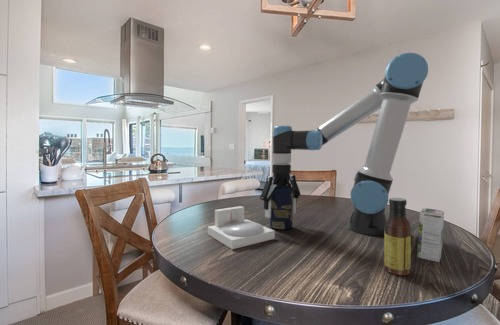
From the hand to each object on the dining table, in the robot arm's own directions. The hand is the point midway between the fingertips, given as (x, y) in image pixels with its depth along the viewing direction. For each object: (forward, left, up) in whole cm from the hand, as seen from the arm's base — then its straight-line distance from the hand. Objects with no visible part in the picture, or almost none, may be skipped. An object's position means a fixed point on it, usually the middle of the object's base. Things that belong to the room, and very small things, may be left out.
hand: (280, 215), depth 110 cm
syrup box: (-48, -18, -5) cm, 52 cm away
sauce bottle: (-47, 0, -5) cm, 47 cm away
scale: (0, +20, -5) cm, 21 cm away
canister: (0, 0, -5) cm, 5 cm away
